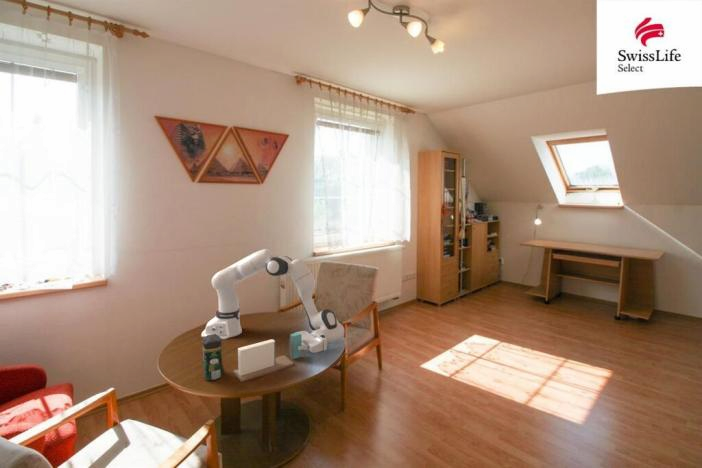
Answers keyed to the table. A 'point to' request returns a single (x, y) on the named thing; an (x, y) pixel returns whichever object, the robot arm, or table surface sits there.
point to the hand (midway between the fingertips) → (294, 345)
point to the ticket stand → (259, 360)
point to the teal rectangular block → (295, 345)
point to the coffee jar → (212, 357)
